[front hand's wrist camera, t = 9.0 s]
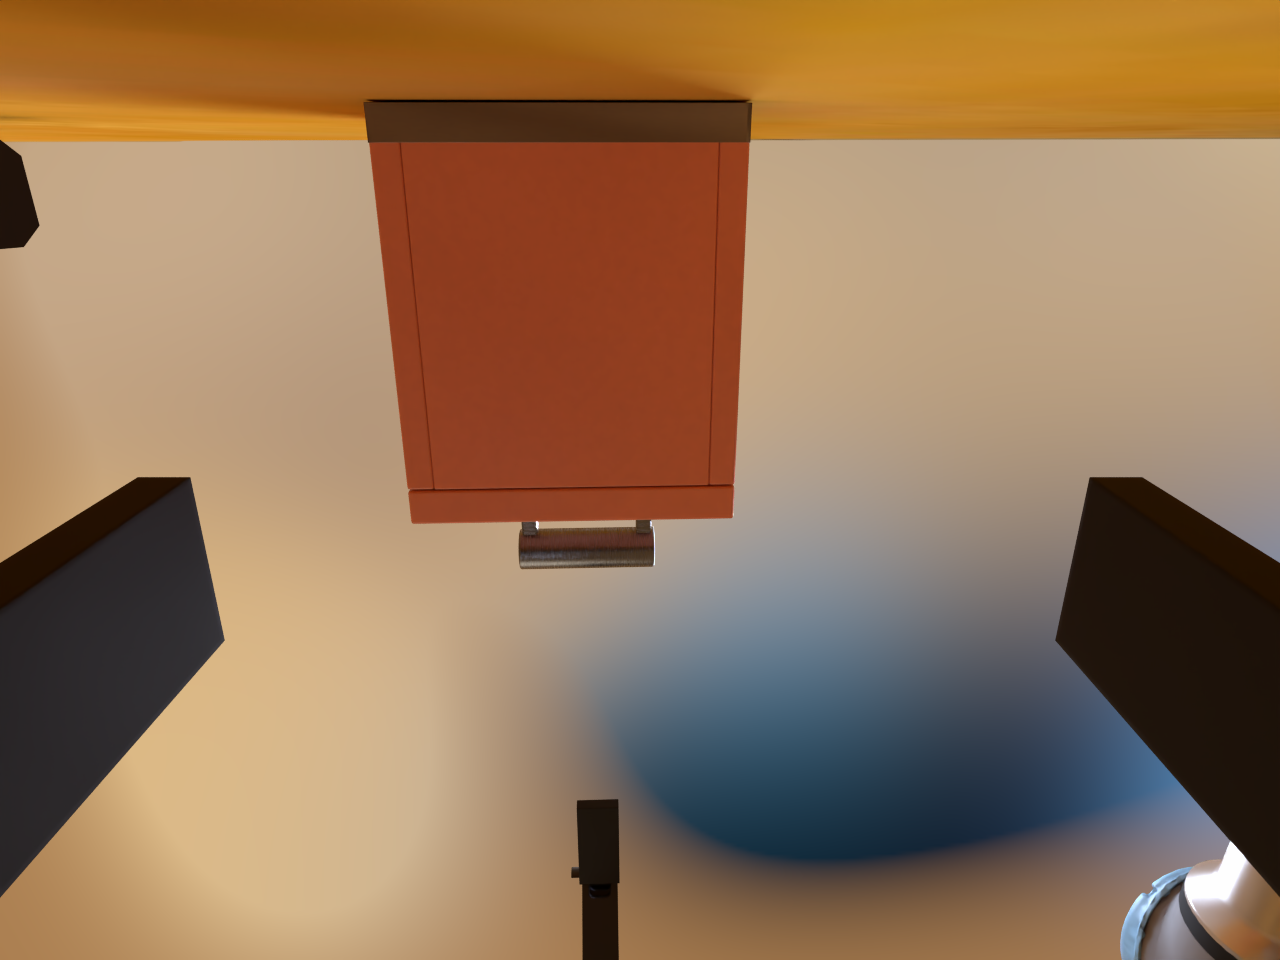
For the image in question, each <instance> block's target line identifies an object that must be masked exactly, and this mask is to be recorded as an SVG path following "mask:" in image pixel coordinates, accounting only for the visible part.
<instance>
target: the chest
mask: <svg viewBox="0 0 1280 960" xmlns="http://www.w3.org/2000/svg"><path fill="white" fill-rule="evenodd" d="M364 110H365V119H366V128H367V137H368V142H369V145H370V154H371V163H372V172H373V181H374V190H375V199H376V208H377V217H378V225H379V235H380V244H381V253H382V262H383V271H384V280H385V288H386V297H387V306H388V315H389V324H390V333H391V342H392V351H393V360H394V369H395V378H396V387H397V396H398V405H399V414H400V423H401V432H402V441H403V450H404V459H405V468H406V477H407V486H408V489H433V488H435V489H483V488H546V487H608V486H670V485H708V484H711V485H713V484H734V482H735V463H736V440H737V417H738V394H739V370H740V348H741V325H742V302H743V279H744V256H745V233H746V209H747V186H748V164H749V143H750V137H751V115H752V103H593V102H364Z"/></svg>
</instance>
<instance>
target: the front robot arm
mask: <svg viewBox="0 0 1280 960" xmlns="http://www.w3.org/2000/svg"><path fill="white" fill-rule="evenodd" d="M223 642H224V635H223V630H222V626H221V621H220V616H219V611H218V607H217V602H216V597H215V593H214V588H213V583H212V578H211V574H210V569H209V564H208V559H207V554H206V550H205V545H204V540H203V535H202V531H201V526H200V521H199V516H198V512H197V507H196V502H195V497H194V493H193V488H192V483H191V478H190V477H138V478H136V479H134V480H133V481H131V482H129V483H128V484H126V485H125V486H123V487H121V488H120V489H118V490H117V491H115V492H113V493H112V494H110V495H109V496H107V497H105V498H104V499H102V500H101V501H99V502H97V503H96V504H94V505H93V506H91V507H89V508H88V509H86V510H85V511H83V512H81V513H80V514H78V515H76V516H75V517H73V518H72V519H70V520H69V521H67V522H65V523H64V524H62V525H61V526H59V527H57V528H56V529H54V530H52V531H51V532H49V533H48V534H46V535H44V536H43V537H41V538H40V539H38V540H36V541H35V542H33V543H32V544H30V545H28V546H27V547H25V548H23V549H22V550H20V551H19V552H17V553H15V554H14V555H12V556H11V557H9V558H8V559H6V560H4V561H3V562H1V563H0V897H1V896H2V895H3V894H4V893H5V891H6V890H7V889H8V888H9V887H10V886H11V885H12V883H13V882H14V881H15V880H16V879H17V878H18V877H19V875H20V874H21V873H22V872H23V871H24V870H25V868H26V867H27V866H28V865H29V864H30V863H31V862H32V860H33V859H34V858H35V857H36V856H37V855H38V854H39V852H40V851H41V850H42V849H43V848H44V847H45V846H46V844H47V843H48V842H49V841H50V840H51V839H52V838H53V836H54V835H55V834H56V833H57V832H58V831H59V829H60V828H61V827H62V826H63V825H64V824H65V823H66V822H67V820H68V819H69V818H70V817H71V816H72V815H73V813H74V812H75V811H76V810H77V809H78V808H79V807H80V806H81V804H82V803H83V802H84V801H85V800H86V799H87V797H88V796H89V795H90V794H91V793H92V792H93V791H94V789H95V788H96V787H97V786H98V785H99V784H100V782H101V781H102V780H103V779H104V778H105V777H106V776H107V775H108V773H109V772H110V771H111V770H112V769H113V768H114V767H115V765H116V764H117V763H118V762H119V761H120V760H121V758H122V757H123V756H124V755H125V754H126V753H127V752H128V750H129V749H130V748H131V747H132V746H133V745H134V744H135V743H136V741H137V740H138V739H139V738H140V737H141V736H142V734H143V733H144V732H145V731H146V730H147V729H148V728H149V726H150V725H151V724H152V723H153V722H154V721H155V720H156V718H157V717H158V716H159V715H160V714H161V713H162V712H163V710H164V709H165V708H166V707H167V706H168V705H169V704H170V702H171V701H172V700H173V699H174V698H175V697H176V696H177V694H178V693H179V692H180V691H181V690H182V689H183V687H184V686H185V685H186V684H187V683H188V682H189V681H190V680H191V678H192V677H193V676H194V675H195V674H196V673H197V671H198V670H199V669H200V668H201V667H202V666H203V665H204V663H205V662H206V661H207V660H208V659H209V658H210V657H211V655H212V654H213V653H214V652H215V651H216V650H217V649H218V647H219V646H220V645H221V644H222V643H223ZM1056 642H1057V643H1058V644H1059V645H1060V646H1061V647H1062V649H1063V650H1064V651H1065V652H1066V653H1067V654H1068V655H1069V657H1070V658H1071V659H1072V660H1073V661H1074V662H1075V663H1076V665H1077V666H1078V667H1079V668H1080V669H1081V670H1082V671H1083V673H1084V674H1085V675H1086V676H1087V677H1088V678H1089V679H1090V681H1091V682H1092V683H1093V684H1094V685H1095V686H1096V688H1097V689H1098V690H1099V691H1100V692H1101V693H1102V694H1103V696H1104V697H1105V698H1106V699H1107V700H1108V701H1109V702H1110V704H1111V705H1112V706H1113V707H1114V708H1115V709H1116V710H1117V712H1118V713H1119V714H1120V715H1121V716H1122V717H1123V718H1124V720H1125V721H1126V722H1127V723H1128V724H1129V725H1130V726H1131V728H1132V729H1133V730H1134V731H1135V732H1136V733H1137V734H1138V736H1139V737H1140V738H1141V739H1142V740H1143V741H1144V743H1145V744H1146V745H1147V746H1148V747H1149V748H1150V749H1151V751H1152V752H1153V753H1154V754H1155V755H1156V756H1157V757H1158V759H1159V760H1160V761H1161V762H1162V763H1163V764H1164V765H1165V767H1166V768H1167V769H1168V770H1169V771H1170V772H1171V773H1172V775H1173V776H1174V777H1175V778H1176V779H1177V780H1178V781H1179V783H1180V784H1181V785H1182V786H1183V787H1184V788H1185V789H1186V791H1187V792H1188V793H1189V794H1190V795H1191V796H1192V797H1193V799H1194V800H1195V801H1196V802H1197V803H1198V804H1199V805H1200V807H1201V808H1202V809H1203V810H1204V811H1205V812H1206V814H1207V815H1208V816H1209V817H1210V818H1211V819H1212V820H1213V821H1214V823H1215V824H1216V825H1217V826H1218V827H1219V828H1220V830H1221V831H1222V832H1223V833H1224V834H1225V835H1226V836H1227V837H1228V839H1229V840H1230V841H1231V842H1232V843H1233V844H1234V846H1235V847H1236V848H1237V849H1238V850H1239V851H1240V852H1241V854H1242V855H1243V856H1244V857H1245V858H1246V859H1247V860H1248V862H1249V863H1250V864H1251V865H1252V866H1253V867H1254V868H1255V870H1256V871H1257V872H1258V873H1259V874H1260V875H1261V877H1262V878H1263V879H1264V880H1265V881H1266V882H1267V883H1268V885H1269V886H1270V887H1271V888H1272V889H1273V890H1274V891H1275V893H1276V894H1277V895H1278V896H1279V897H1280V563H1279V562H1277V561H1276V560H1274V559H1273V558H1271V557H1269V556H1268V555H1266V554H1264V553H1263V552H1261V551H1260V550H1258V549H1256V548H1255V547H1253V546H1252V545H1250V544H1248V543H1247V542H1245V541H1244V540H1242V539H1240V538H1239V537H1237V536H1236V535H1234V534H1232V533H1231V532H1229V531H1228V530H1226V529H1224V528H1223V527H1221V526H1220V525H1218V524H1216V523H1215V522H1213V521H1212V520H1210V519H1208V518H1207V517H1205V516H1204V515H1202V514H1200V513H1199V512H1197V511H1195V510H1194V509H1192V508H1191V507H1189V506H1187V505H1186V504H1184V503H1183V502H1181V501H1179V500H1178V499H1176V498H1175V497H1173V496H1171V495H1170V494H1168V493H1166V492H1165V491H1163V490H1162V489H1160V488H1159V487H1157V486H1155V485H1154V484H1152V483H1151V482H1149V481H1147V480H1146V479H1144V478H1142V477H1090V478H1089V483H1088V488H1087V493H1086V498H1085V502H1084V507H1083V512H1082V516H1081V521H1080V526H1079V531H1078V536H1077V540H1076V545H1075V550H1074V554H1073V559H1072V564H1071V569H1070V574H1069V578H1068V583H1067V588H1066V592H1065V597H1064V602H1063V607H1062V611H1061V616H1060V621H1059V626H1058V630H1057V635H1056Z"/></svg>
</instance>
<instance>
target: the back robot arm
mask: <svg viewBox="0 0 1280 960" xmlns="http://www.w3.org/2000/svg"><path fill="white" fill-rule="evenodd" d="M577 827H578V853H579V867H572V872H571V877H572V878H579V881H580V884H582V921H583V960H619V950H618V887H617V883H619V816H618V799H611V800H578V801H577ZM1152 886H1153V890H1152V892H1151V893H1149V894H1145V893H1142V894H1141V895H1140V896H1139V897H1138V898H1137V899H1136V901H1135V902H1134V904H1133V905H1132V907H1131V909H1130V910H1129V913H1128V914H1127V916H1126V919H1125V922H1124V925H1123V928H1122V933H1121V957H1122V960H1280V897H1279V896H1278V895H1277V894H1276V893H1275V891H1274V890H1273V889H1272V888H1271V887H1270V886H1269V885H1268V883H1267V882H1266V881H1265V880H1264V879H1263V878H1262V877H1261V875H1260V874H1259V873H1258V872H1257V871H1256V870H1255V868H1254V867H1253V866H1252V865H1251V864H1250V863H1249V862H1248V860H1247V859H1246V858H1245V857H1244V856H1243V855H1242V854H1241V852H1240V851H1239V850H1238V849H1237V848H1236V847H1235V846H1234V844H1233V843H1232V842H1231V841H1230V844H1229V846H1228V848H1227V850H1226V853H1225V855H1224V857H1223V860H1208V861H1204V862H1201V863H1199V864H1197V865H1195V866H1194V867H1188V868H1182V869H1179V870H1176V871H1173V872H1171V873H1169V874H1167V875H1164V876H1163V877H1161V878H1160V879H1158V880H1156V881H1155V882H1153V884H1152Z"/></svg>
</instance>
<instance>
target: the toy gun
mask: <svg viewBox="0 0 1280 960" xmlns="http://www.w3.org/2000/svg"><path fill="white" fill-rule="evenodd" d="M38 227H39V222H38V218H37V214H36V210H35V207H34V203H33V199H32V195H31V191H30V188H29V184H28V180H27V177H26V172H25V169H24V165H23V161H22V157H21V155H19V154H18V153H17V152H15V151H14V150H13V149H11V148H10V147H9V146H8V145H6V144H5V143H4V142H2V141H1V140H0V249H6V248H18V247H24V246H25V245H26V243H27V242H28V241H29V239H30V238H31V236H32V235H33V234H34V232H35V231H36V230H37V228H38Z"/></svg>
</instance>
